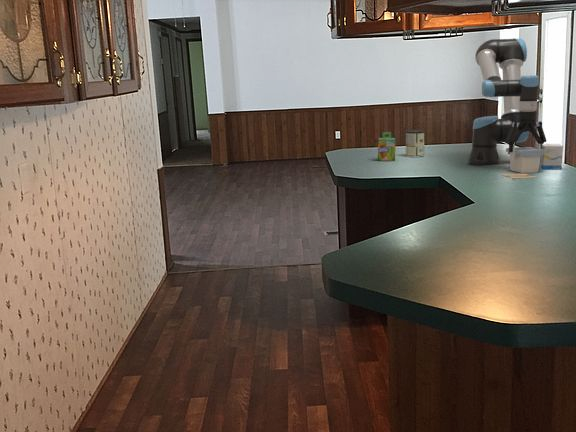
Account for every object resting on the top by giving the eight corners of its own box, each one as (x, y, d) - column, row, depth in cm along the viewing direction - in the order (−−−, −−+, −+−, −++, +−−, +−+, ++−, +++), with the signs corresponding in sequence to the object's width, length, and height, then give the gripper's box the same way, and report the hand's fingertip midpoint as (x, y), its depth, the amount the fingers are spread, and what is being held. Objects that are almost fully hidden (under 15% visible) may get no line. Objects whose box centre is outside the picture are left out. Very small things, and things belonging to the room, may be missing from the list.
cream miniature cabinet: (409, 154, 354) (409, 129, 351) (426, 155, 349) (427, 129, 346) (402, 156, 346) (402, 131, 343) (420, 157, 340) (420, 131, 337)
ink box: (561, 171, 287) (563, 145, 285) (542, 170, 289) (544, 145, 286) (557, 168, 296) (559, 143, 293) (538, 168, 297) (540, 143, 295)
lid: (505, 154, 289) (506, 148, 288) (529, 153, 292) (529, 146, 291) (520, 157, 278) (520, 151, 277) (544, 156, 280) (545, 149, 279)
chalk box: (377, 161, 331) (378, 133, 328) (377, 158, 340) (377, 131, 337) (395, 161, 330) (396, 133, 326) (394, 158, 339) (395, 131, 335)
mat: (501, 176, 277) (501, 174, 276) (523, 175, 279) (523, 173, 279) (513, 180, 267) (513, 178, 267) (536, 178, 269) (537, 176, 269)
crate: (509, 171, 290) (511, 151, 288) (525, 170, 292) (526, 150, 290) (522, 174, 281) (523, 154, 279) (538, 173, 282) (539, 153, 280)
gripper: (507, 112, 274) (504, 161, 279) (557, 110, 279) (553, 158, 284) (498, 111, 281) (496, 159, 286) (546, 109, 286) (543, 156, 291)
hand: (524, 158), depth 285 cm, fingers closed on lid, 12 cm apart
